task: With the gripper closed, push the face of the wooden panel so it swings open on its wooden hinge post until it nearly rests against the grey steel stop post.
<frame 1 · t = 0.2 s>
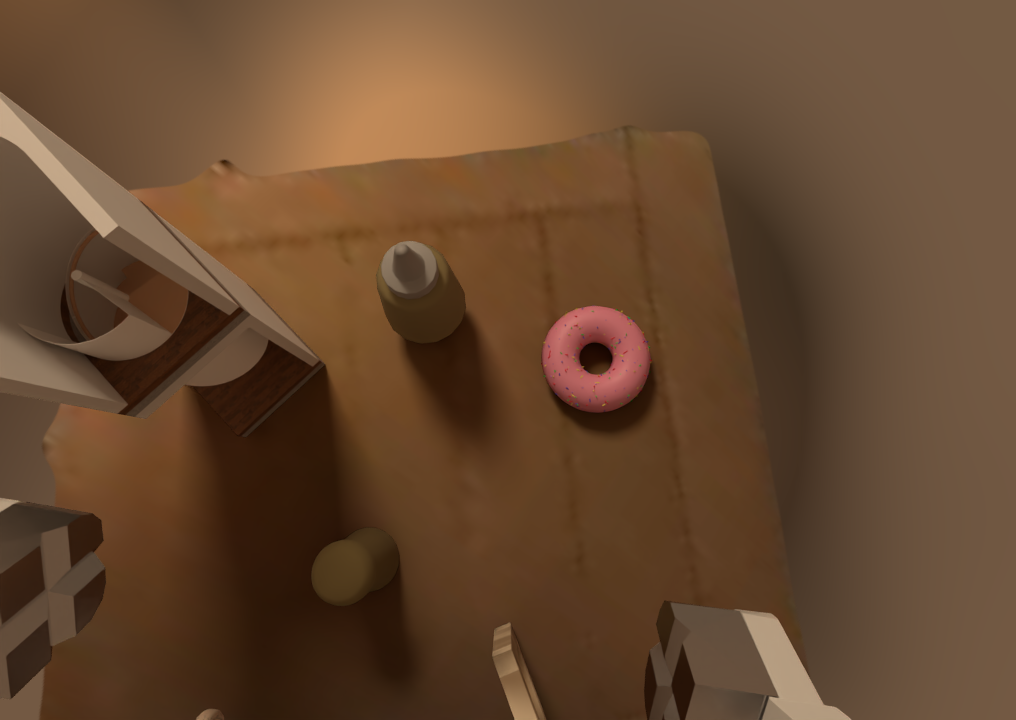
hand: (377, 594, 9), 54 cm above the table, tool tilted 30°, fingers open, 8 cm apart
tiered white shelf: (250, 361, 64), on the table
cork: (368, 559, 61), on the table
doughnut: (592, 362, 65), on the table
squeeze bottle: (429, 314, 65), on the table
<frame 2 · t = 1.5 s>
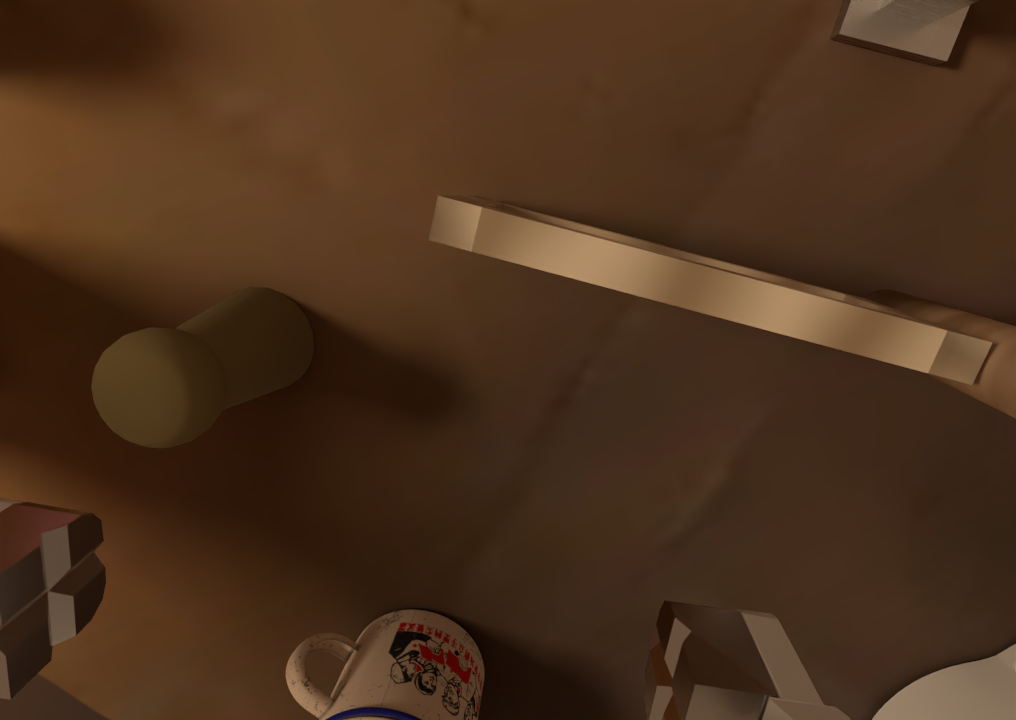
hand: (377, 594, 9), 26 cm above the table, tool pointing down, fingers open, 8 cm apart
cork: (264, 338, 36), on the table
teacup with lid: (402, 648, 40), on the table
hinge post: (881, 318, 32), on the table
wooden panel: (680, 273, 27), point 6 cm above the table, hinge at 0.0°
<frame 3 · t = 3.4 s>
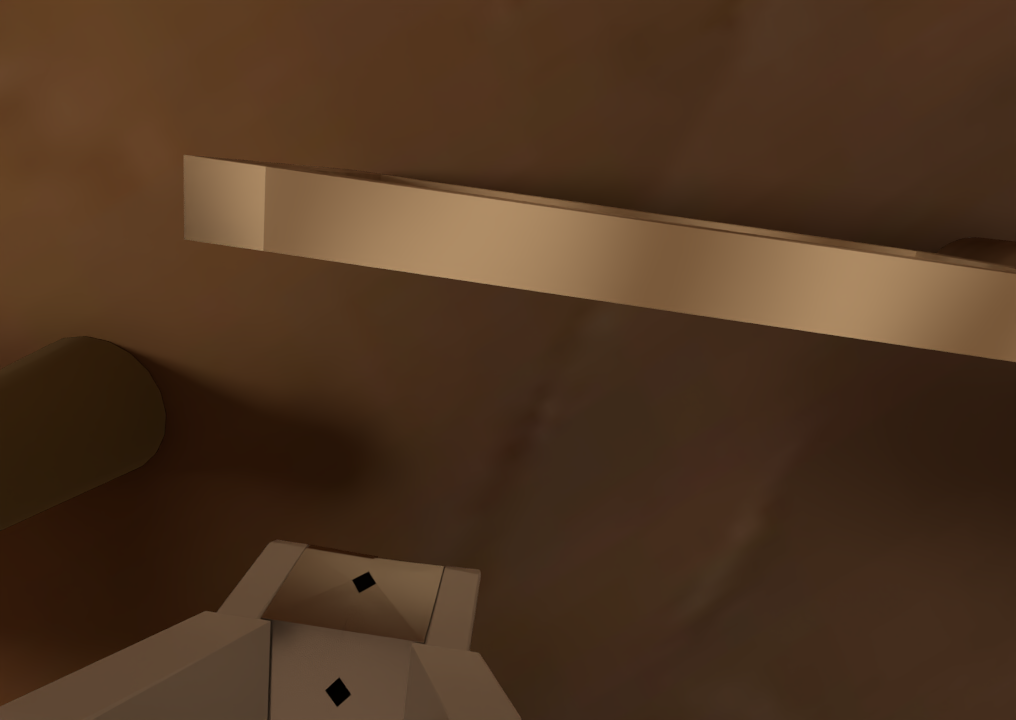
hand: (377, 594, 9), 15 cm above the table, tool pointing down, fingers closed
cork: (98, 406, 26), on the table
hinge post: (965, 280, 22), on the table
wooden panel: (656, 248, 16), point 6 cm above the table, hinge at 0.0°
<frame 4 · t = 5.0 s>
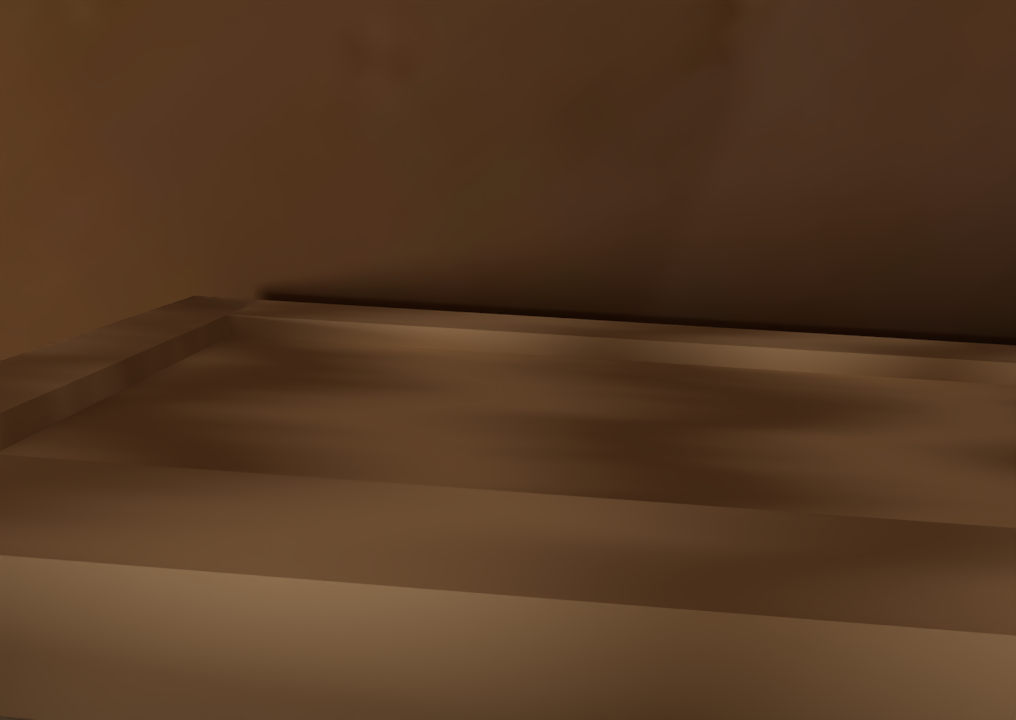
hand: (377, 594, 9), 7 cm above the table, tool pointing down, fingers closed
wooden panel: (666, 444, 9), point 6 cm above the table, hinge at 3.2°, touching gripper
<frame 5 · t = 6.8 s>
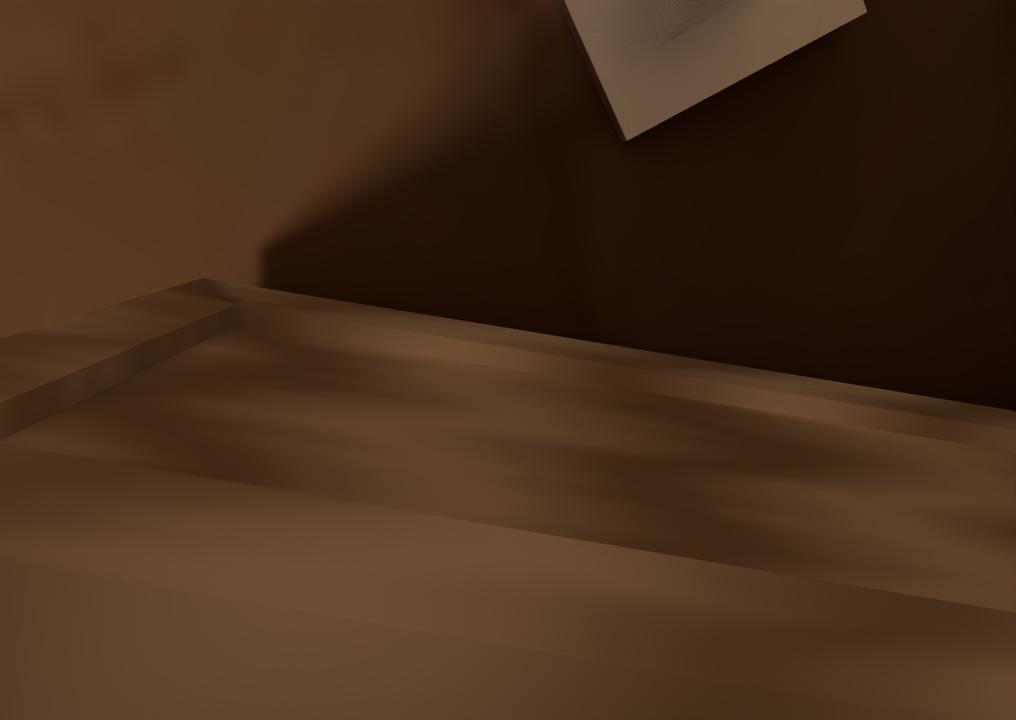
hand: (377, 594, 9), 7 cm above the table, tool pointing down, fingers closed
wooden panel: (672, 483, 10), point 6 cm above the table, hinge at 36.4°, touching gripper
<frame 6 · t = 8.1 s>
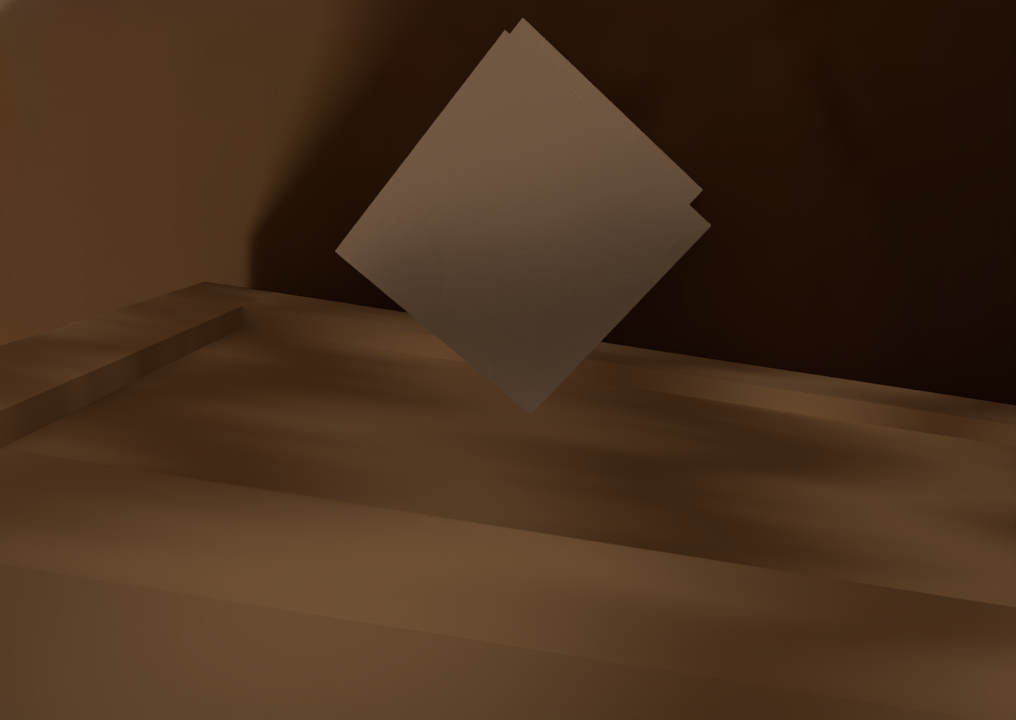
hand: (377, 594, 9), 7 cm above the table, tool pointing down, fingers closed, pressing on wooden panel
stop post: (534, 200, 14), on the table
wooden panel: (677, 482, 10), point 6 cm above the table, hinge at 57.3°, touching gripper
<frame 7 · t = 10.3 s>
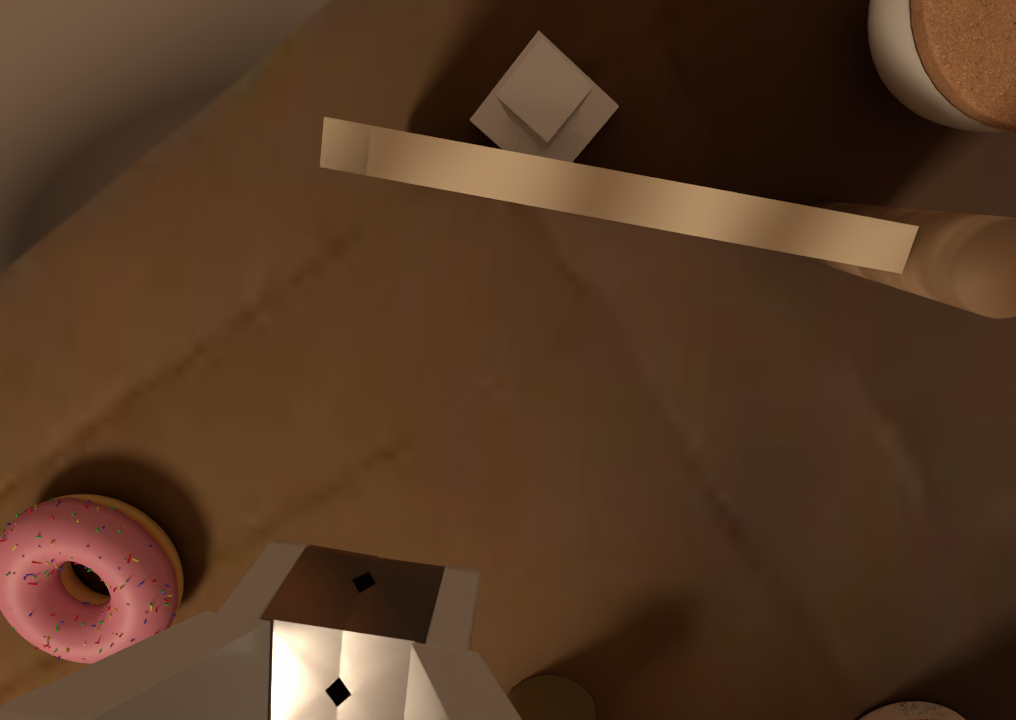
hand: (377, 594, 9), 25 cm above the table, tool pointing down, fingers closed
stop post: (543, 115, 30), on the table
cork: (549, 709, 41), on the table
lidded jar: (944, 19, 28), on the table
doughnut: (113, 557, 39), on the table
hinge post: (823, 232, 31), on the table
wooden panel: (602, 192, 26), point 6 cm above the table, hinge at 59.6°
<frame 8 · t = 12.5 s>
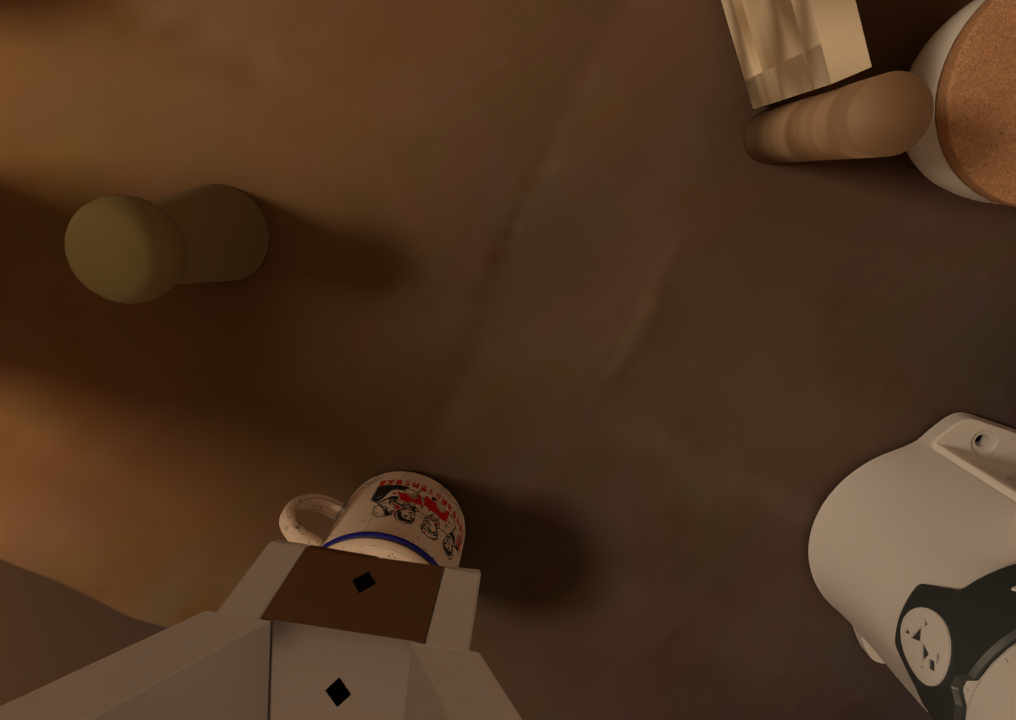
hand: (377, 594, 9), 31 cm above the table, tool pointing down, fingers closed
cork: (223, 233, 39), on the table
lidded jar: (960, 104, 35), on the table
teacup with lid: (389, 511, 44), on the table
hinge post: (770, 136, 36), on the table
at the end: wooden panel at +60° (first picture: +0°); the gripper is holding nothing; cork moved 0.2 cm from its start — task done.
